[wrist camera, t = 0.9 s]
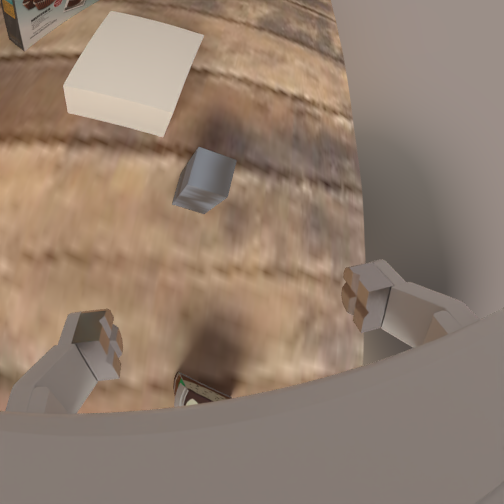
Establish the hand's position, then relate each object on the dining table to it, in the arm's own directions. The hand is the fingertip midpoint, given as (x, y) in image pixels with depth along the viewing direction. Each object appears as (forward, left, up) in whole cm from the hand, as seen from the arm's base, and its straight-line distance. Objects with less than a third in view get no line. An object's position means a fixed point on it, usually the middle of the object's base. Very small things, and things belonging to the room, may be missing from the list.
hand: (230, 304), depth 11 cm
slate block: (+4, +15, -35) cm, 38 cm away
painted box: (-11, +30, -35) cm, 47 cm away
